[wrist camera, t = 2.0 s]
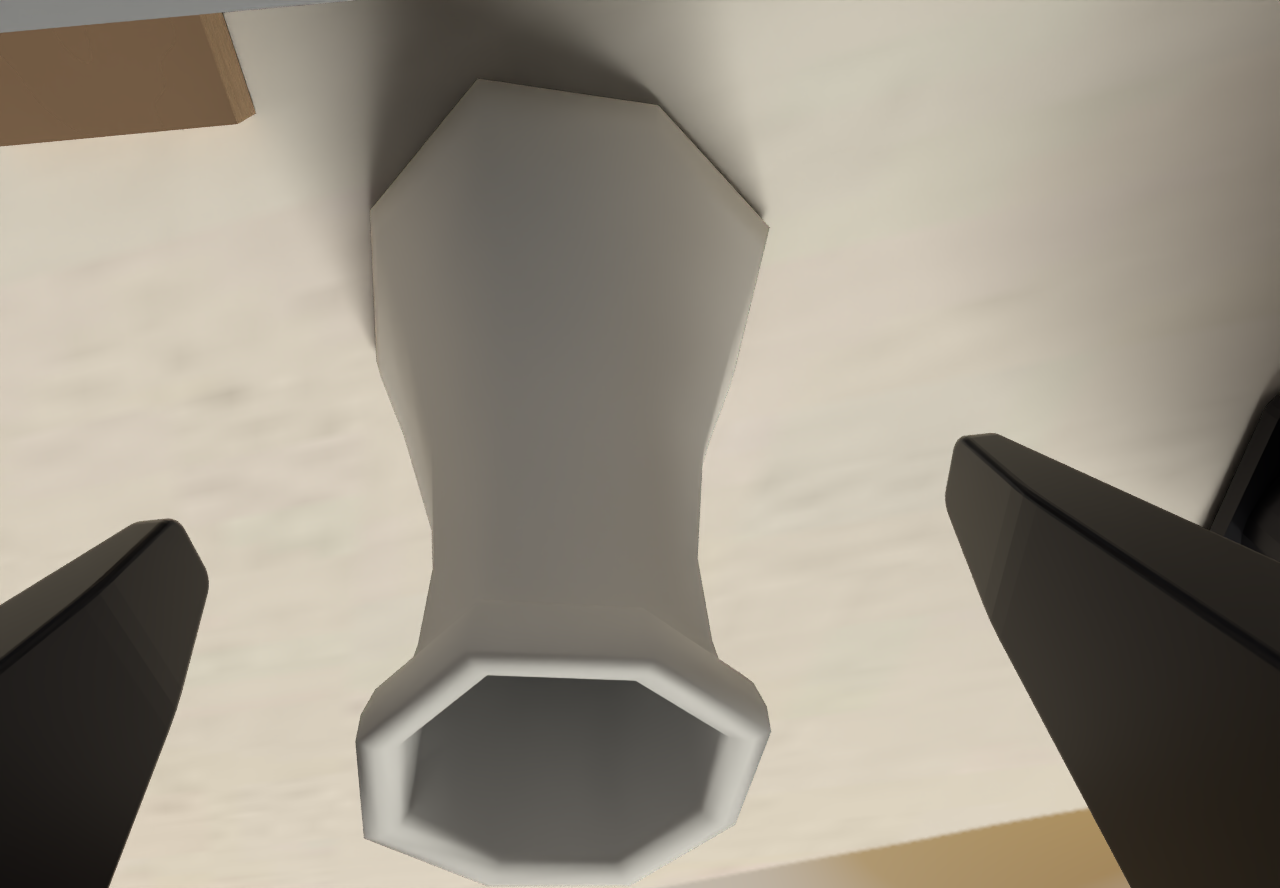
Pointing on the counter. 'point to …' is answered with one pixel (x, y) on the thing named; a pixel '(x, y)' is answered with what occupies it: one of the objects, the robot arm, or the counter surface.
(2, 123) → the gauge housing
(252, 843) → the counter surface
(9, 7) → the gauge plunger
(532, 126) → the flask
